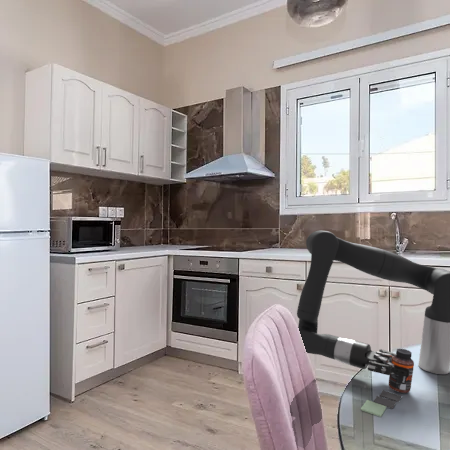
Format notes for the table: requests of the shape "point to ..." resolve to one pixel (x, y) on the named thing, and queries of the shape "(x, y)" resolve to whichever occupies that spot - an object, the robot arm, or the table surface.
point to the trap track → (381, 403)
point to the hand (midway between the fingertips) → (411, 369)
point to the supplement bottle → (399, 381)
